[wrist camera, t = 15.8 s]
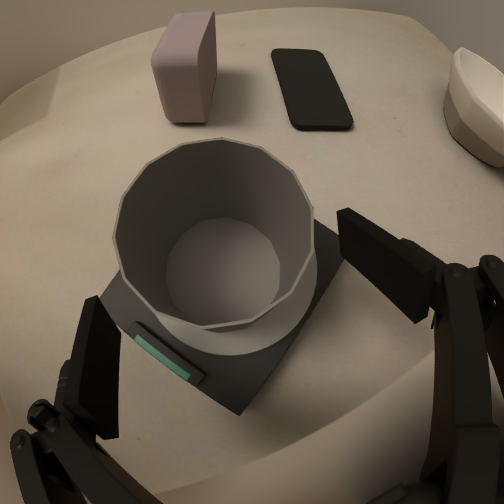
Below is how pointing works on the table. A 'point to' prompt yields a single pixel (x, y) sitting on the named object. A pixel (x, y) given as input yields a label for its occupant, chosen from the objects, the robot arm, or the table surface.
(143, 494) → the robot arm
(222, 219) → the cup
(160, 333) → the scale
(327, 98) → the phone
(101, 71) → the table surface
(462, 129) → the bowl
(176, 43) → the electronic device
